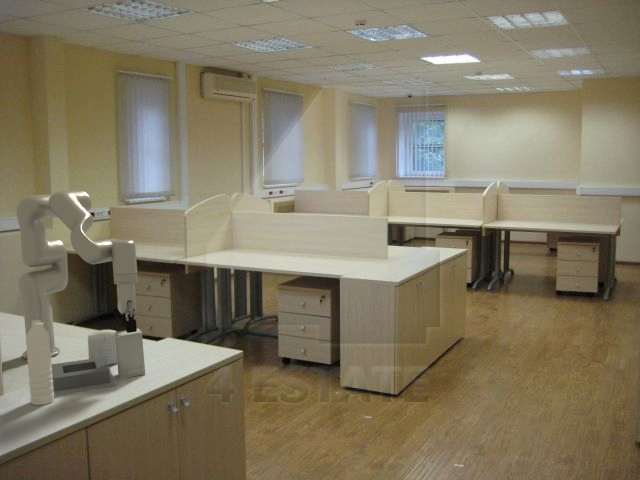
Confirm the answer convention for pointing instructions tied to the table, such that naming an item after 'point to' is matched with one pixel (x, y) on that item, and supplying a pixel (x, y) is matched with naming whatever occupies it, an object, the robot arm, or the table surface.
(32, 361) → the water bottle
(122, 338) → the skincare box
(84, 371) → the dock
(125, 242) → the robot arm
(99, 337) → the photo printer
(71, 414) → the table surface
